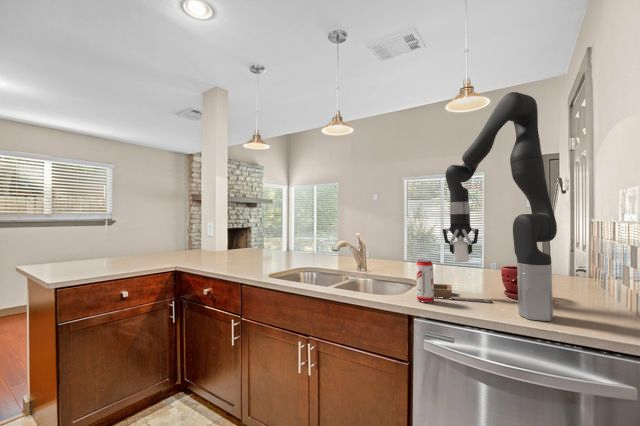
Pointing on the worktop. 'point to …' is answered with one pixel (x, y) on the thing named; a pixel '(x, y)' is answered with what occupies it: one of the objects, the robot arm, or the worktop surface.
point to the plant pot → (510, 281)
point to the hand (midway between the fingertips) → (461, 253)
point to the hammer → (446, 292)
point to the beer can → (425, 280)
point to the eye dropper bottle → (460, 250)
